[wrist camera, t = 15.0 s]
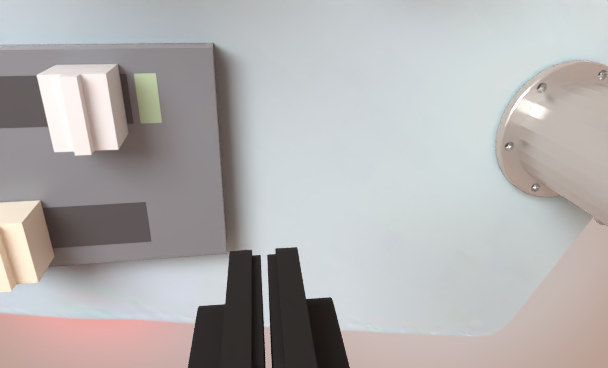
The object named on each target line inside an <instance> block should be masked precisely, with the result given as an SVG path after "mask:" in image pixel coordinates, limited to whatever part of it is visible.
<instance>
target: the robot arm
mask: <svg viewBox="0 0 608 368" xmlns="http://www.w3.org/2000/svg"><path fill="white" fill-rule="evenodd" d="M496 156H497V160H498V164H499V167H500V168H501V170H502V172H503V174H504V176H505V177H506V178H507V179H508V180H509V181H510V182H511V183H512V184H513V185H515V186H516V187H517V188H519V189H520V190H522V191H524V192H526V193H528V194H531V195H535V196H542V197H552V196H559V195H561V196H563V197H564V198H566V199H567V200H569V201H570V202H572V203H573V204H575V205H576V206H578V207H579V208H581V209H583V210H584V211H586V212H587V213H589V214H590V215H592V216H593V217H594V218H595V220H596V222H597V223H599V224H602V225H607V226H608V66H606V65H603V64H599V63H596V62H592V61H583V60H576V61H567V62H563V63H560V64H557V65H554V66H552V67H550V68H548V69H546V70H544V71H542V72H540V73H539V74H537V75H536V76H535V77H533V78H532V79H530V80H529V81H528V82H527V83H526V84H525V85H524V86H523V87H522V88H521V89H520V90H519V91H518V92H517V93H516V95H515V96H514V97H513V99H512V100H511V101H510V103H509V104H508V106H507V108H506V110H505V112H504V114H503V116H502V118H501V121H500V124H499V127H498V130H497V137H496ZM267 257H268V283H269V309H270V332H271V333H270V334H271V354H272V355H271V356H272V368H350V367H349V363H348V359H347V356H346V351H345V347H344V343H343V339H342V335H341V331H340V327H339V324H338V320H337V316H336V312H335V308H334V304H333V300H332V298H331V297H330V298H315V299H306V297H305V291H304V285H303V279H302V273H301V267H300V261H299V256H298V250H297V247H295V248H277V249H276V254H272V255H267ZM264 344H265V342H264V320H263V298H262V277H261V256H260V255H255V256H252V250H241V251H230V255H229V267H228V279H227V291H226V303H225V304H224V305H209V306H199V307H198V311H197V316H196V322H195V328H194V334H193V341H192V347H191V352H190V358H189V364H188V368H265V345H264Z"/></svg>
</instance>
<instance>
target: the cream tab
mask: <svg viewBox="0 0 608 368" xmlns="http://www.w3.org/2000/svg"><path fill="white" fill-rule="evenodd" d="M53 258H54V252H53V248H52V244H51V240H50V237H49V233H48V229H47V225H46V221H45V217H44V213H43V209H42V205H41V201H40V200H36V201H18V202H0V292H7V291H12V290H13V288H14V287H15V285H16V284H27V283H38V282H39V281H40V279H41V277H42V276H43V274H44V273H45V271H46V269H47V268H48V266H49V264H50V263H51V261H52V260H53Z"/></svg>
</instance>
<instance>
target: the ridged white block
mask: <svg viewBox="0 0 608 368" xmlns="http://www.w3.org/2000/svg"><path fill="white" fill-rule="evenodd" d="M37 79H38V83H39V88H40V92H41V97H42V101H43V105H44V110H45V114H46V118H47V123H48V127H49V132H50V136H51V140H52V145H53V149H54V152H74V153H75V156H77V155H92V153H93V152H94V151H98V150H119V148H120V146H121V145H122V143H123V142H124V140H125V138H126V137H127V135H128V134H129V133H128V126H127V120H126V114H125V107H124V101H123V94H122V88H121V81H120V75H119V68H118V64H78V65H55V66H53V67H51V68H49V69H47V70H45V71H43V72H41V73H39V74H37Z"/></svg>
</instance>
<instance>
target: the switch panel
mask: <svg viewBox="0 0 608 368" xmlns="http://www.w3.org/2000/svg"><path fill="white" fill-rule="evenodd" d="M78 64H118V68H119V75H120V81H121V88H122V94H123V101H124V107H125V114H126V120H127V126H128V133H129V134H128V135H127V137H126V138H125V140H124V142H123V143H122V145H121V146H120V148H119V150H98V151H94V152H93V153H92V155H77V156H75V153H74V152H54V149H53V145H52V140H51V136H50V132H49V127H48V123H47V118H46V114H45V110H44V105H43V101H42V97H41V92H40V88H39V83H38V79H37V74H39V73H41V72H43V71H45V70H47V69H49V68H51V67H53V66H55V65H78ZM36 200H40V201H41V205H42V209H43V213H44V217H45V221H46V225H47V229H48V233H49V237H50V240H51V244H52V248H53V252H54V258H53V260H52V261H51V263H50V264H49V266H48V267H51V266H65V265H78V264H92V263H105V262H118V261H132V260H145V259H159V258H172V257H185V256H199V255H212V254H226V253H227V238H226V223H225V209H224V194H223V180H222V166H221V151H220V137H219V122H218V108H217V94H216V79H215V65H214V50H213V43H156V44H55V45H0V202H18V201H36Z"/></svg>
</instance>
